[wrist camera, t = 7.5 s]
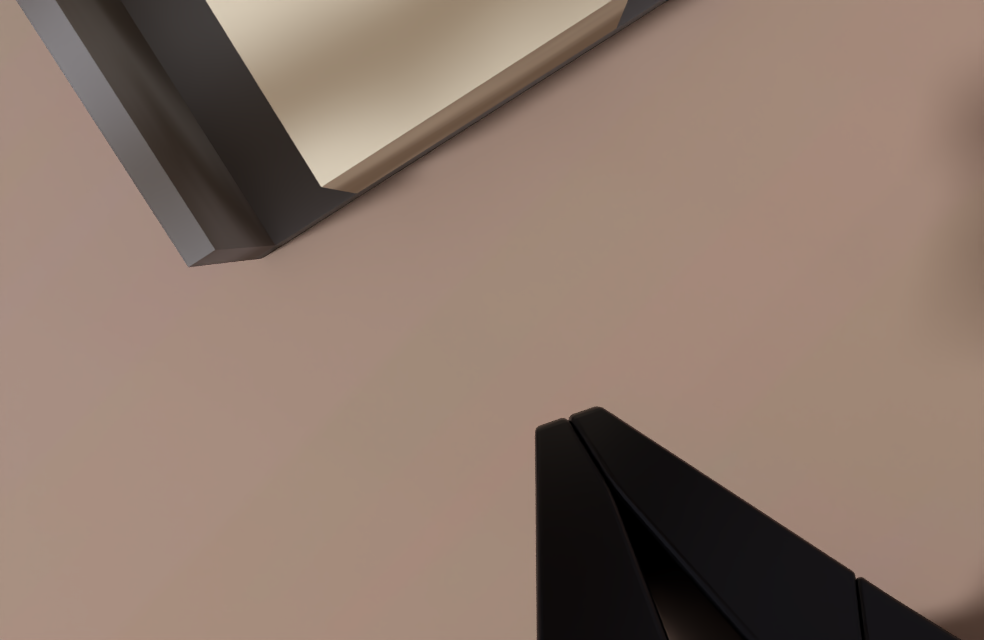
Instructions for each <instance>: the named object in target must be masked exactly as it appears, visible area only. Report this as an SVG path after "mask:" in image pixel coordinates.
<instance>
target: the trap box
mask: <svg viewBox="0 0 984 640" xmlns="http://www.w3.org/2000/svg"><path fill="white" fill-rule="evenodd" d="M16 1H17V2H18V4H19V5H20V7H21V8H22V10H23V11H24V13H25V15H26V16H27V18H28V19H29V21H30V22H31V24H32V25H33V27H34V29H35V30H36V32H37V33H38V35H39V36H40V38H41V39H42V41H43V42H44V44H45V46H46V47H47V49H48V50H49V52H50V53H51V55H52V56H53V58H54V60H55V61H56V63H57V64H58V66H59V67H60V69H61V70H62V72H63V73H64V75H65V77H66V78H67V80H68V81H69V83H70V84H71V86H72V87H73V89H74V91H75V92H76V94H77V95H78V97H79V98H80V100H81V101H82V103H83V104H84V106H85V108H86V109H87V111H88V112H89V114H90V115H91V117H92V118H93V120H94V122H95V123H96V125H97V126H98V128H99V129H100V131H101V132H102V134H103V135H104V137H105V139H106V140H107V142H108V143H109V145H110V146H111V148H112V149H113V151H114V153H115V154H116V156H117V157H118V159H119V160H120V162H121V163H122V165H123V166H124V168H125V170H126V171H127V173H128V174H129V176H130V177H131V179H132V180H133V182H134V184H135V185H136V187H137V188H138V190H139V191H140V193H141V194H142V196H143V197H144V199H145V201H146V202H147V204H148V205H149V207H150V208H151V210H152V211H153V213H154V215H155V216H156V218H157V219H158V221H159V222H160V224H161V225H162V227H163V228H164V230H165V232H166V233H167V235H168V236H169V238H170V239H171V241H172V242H173V244H174V246H175V247H176V249H177V250H178V252H179V253H180V255H181V256H182V258H183V259H184V261H185V263H186V264H187V266H188V267H194V266H202V265H211V264H219V263H228V262H236V261H244V260H253V259H261V258H263V257H264V256H266V255H268V254H269V253H271V252H272V251H274V250H275V249H277V248H279V247H280V246H282V245H283V244H285V243H286V242H288V241H290V240H291V239H293V238H294V237H296V236H297V235H299V234H301V233H302V232H304V231H305V230H307V229H308V228H310V227H312V226H313V225H315V224H316V223H318V222H319V221H321V220H323V219H324V218H326V217H327V216H329V215H330V214H332V213H334V212H335V211H337V210H338V209H340V208H341V207H343V206H345V205H346V204H348V203H349V202H351V201H353V200H354V199H356V198H357V197H359V196H360V195H362V194H364V193H365V192H367V191H368V190H370V189H371V188H373V187H375V186H376V185H378V184H379V183H381V182H382V181H384V180H386V179H387V178H389V177H390V176H392V175H393V174H395V173H397V172H398V171H400V170H401V169H403V168H404V167H406V166H408V165H409V164H411V163H412V162H414V161H415V160H417V159H419V158H420V157H422V156H423V155H425V154H426V153H428V152H430V151H431V150H433V149H434V148H436V147H437V146H439V145H441V144H442V143H444V142H445V141H447V140H449V139H450V138H452V137H453V136H455V135H456V134H458V133H460V132H461V131H463V130H464V129H466V128H467V127H469V126H471V125H472V124H474V123H475V122H477V121H478V120H480V119H482V118H483V117H485V116H486V115H488V114H489V113H491V112H493V111H494V110H496V109H497V108H499V107H500V106H502V105H504V104H505V103H507V102H508V101H510V100H511V99H513V98H515V97H516V96H518V95H519V94H521V93H522V92H524V91H526V90H527V89H529V88H530V87H532V86H533V85H535V84H537V83H538V82H540V81H541V80H543V79H545V78H546V77H548V76H549V75H551V74H552V73H554V72H556V71H557V70H559V69H560V68H562V67H563V66H565V65H567V64H568V63H570V62H571V61H573V60H574V59H576V58H578V57H579V56H581V55H582V54H584V53H585V52H587V51H589V50H590V49H592V48H593V47H595V46H596V45H598V44H600V43H601V42H603V41H604V40H606V39H607V38H609V37H611V36H612V35H614V34H615V33H617V32H618V31H620V30H622V29H623V28H625V27H626V26H628V25H630V24H631V23H633V22H634V21H636V20H637V19H639V18H641V17H642V16H644V15H645V14H647V13H648V12H650V11H652V10H653V9H655V8H656V7H658V6H659V5H661V4H663V3H664V2H666V1H667V0H16Z"/></svg>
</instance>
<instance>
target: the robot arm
mask: <svg viewBox="0 0 984 640" xmlns="http://www.w3.org/2000/svg"><path fill="white" fill-rule="evenodd" d="M535 482H536V599H537V640H961V639H959V638H957V637H956V636H954V635H952V634H950V633H949V632H947V631H946V630H944V629H942V628H941V627H939V626H938V625H936V624H934V623H933V622H931V621H930V620H928V619H926V618H925V617H923V616H922V615H920V614H918V613H917V612H915V611H914V610H912V609H910V608H909V607H907V606H906V605H904V604H902V603H901V602H899V601H898V600H896V599H894V598H893V597H891V596H890V595H888V594H887V593H885V592H884V591H882V590H881V589H879V588H878V587H876V586H875V585H873V584H872V583H870V582H869V581H867V580H866V579H864V578H862V577H858V578H857V579H856V577H855V574H854V572H853V571H851V570H850V569H848V568H847V567H845V566H844V565H842V564H841V563H839V562H838V561H836V560H835V559H833V558H832V557H830V556H828V555H827V554H825V553H824V552H822V551H821V550H819V549H818V548H816V547H815V546H813V545H812V544H810V543H809V542H807V541H806V540H804V539H803V538H801V537H799V536H798V535H796V534H795V533H793V532H792V531H790V530H789V529H787V528H786V527H784V526H783V525H781V524H780V523H778V522H777V521H775V520H773V519H772V518H770V517H769V516H767V515H766V514H764V513H763V512H761V511H760V510H758V509H757V508H755V507H754V506H752V505H751V504H749V503H748V502H746V501H744V500H743V499H741V498H740V497H738V496H737V495H735V494H734V493H732V492H731V491H729V490H728V489H726V488H725V487H723V486H722V485H720V484H718V483H717V482H715V481H714V480H712V479H711V478H709V477H708V476H706V475H705V474H703V473H702V472H700V471H699V470H697V469H696V468H694V467H693V466H691V465H689V464H688V463H686V462H685V461H683V460H682V459H680V458H679V457H677V456H676V455H674V454H673V453H671V452H670V451H668V450H667V449H665V448H663V447H662V446H660V445H659V444H657V443H656V442H654V441H653V440H651V439H650V438H648V437H647V436H645V435H644V434H642V433H641V432H639V431H638V430H636V429H634V428H633V427H631V426H630V425H628V424H627V423H625V422H624V421H622V420H621V419H619V418H618V417H616V416H615V415H613V414H612V413H610V412H608V411H607V410H605V409H604V408H602V407H592V408H589V409H587V410H584V411H581V412H578V413H575V414H572V415H571V416H570V417H569V420H567V419H565V418H561V419H558V420H555V421H552V422H549V423H546V424H543V425H540V426H538V427H537V428H536V431H535Z"/></svg>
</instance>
